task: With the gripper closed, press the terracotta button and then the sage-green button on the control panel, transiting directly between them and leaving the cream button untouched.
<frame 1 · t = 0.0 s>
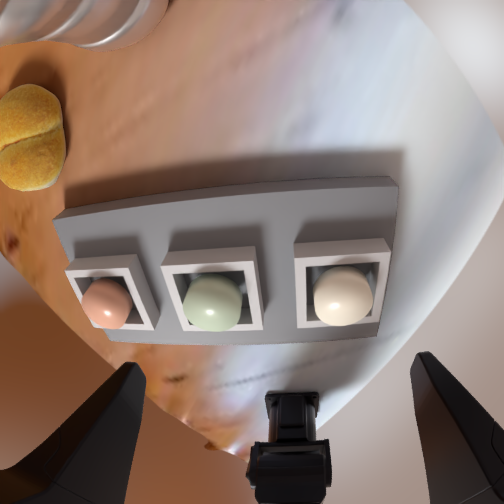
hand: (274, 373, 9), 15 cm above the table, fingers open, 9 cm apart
plastic bottle: (133, 9, 15), on the table
sage button: (213, 303, 22), point 4 cm above the table, slide at 0.0 cm
cream button: (342, 296, 21), point 4 cm above the table, slide at 0.0 cm
terracotta button: (106, 304, 23), point 4 cm above the table, slide at 0.0 cm
bread roll: (37, 135, 20), on the table
panel: (221, 269, 25), on the table
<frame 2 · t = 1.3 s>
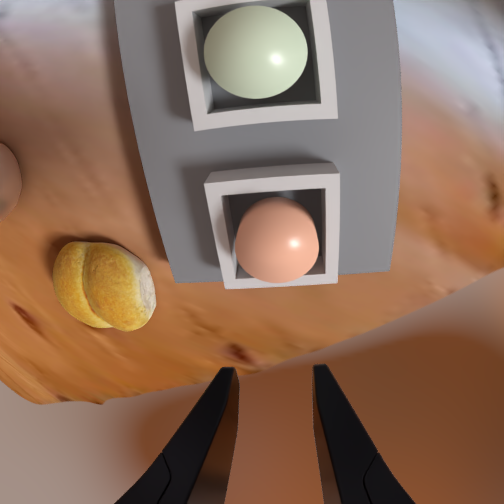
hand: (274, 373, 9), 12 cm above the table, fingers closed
plastic bottle: (6, 170, 19), on the table
sage button: (256, 52, 11), point 4 cm above the table, slide at 0.0 cm
terracotta button: (276, 240, 16), point 4 cm above the table, slide at 0.0 cm
bread roll: (110, 276, 24), on the table
panel: (260, 57, 14), on the table
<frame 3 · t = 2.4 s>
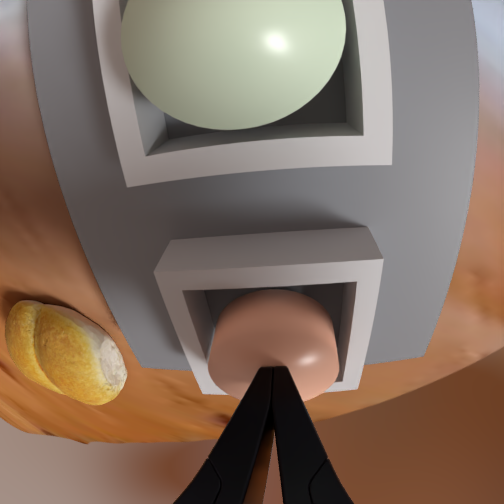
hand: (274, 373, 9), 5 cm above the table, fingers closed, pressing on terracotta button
sage button: (233, 29, 5), point 4 cm above the table, slide at 0.0 cm
terracotta button: (274, 353, 10), point 4 cm above the table, slide at 0.0 cm, touching gripper
bread roll: (72, 338, 18), on the table
panel: (250, 46, 8), on the table
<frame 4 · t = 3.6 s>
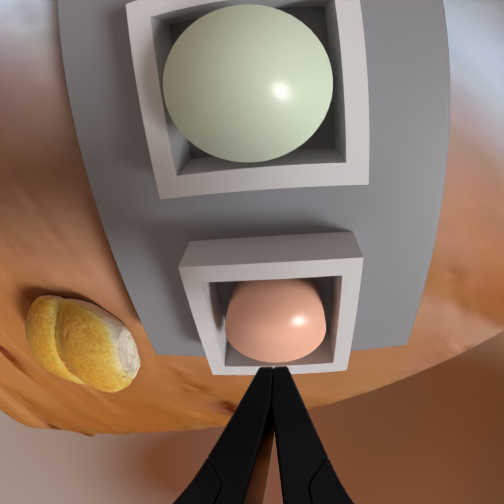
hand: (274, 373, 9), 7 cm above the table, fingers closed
sage button: (248, 81, 7), point 4 cm above the table, slide at 0.0 cm
terracotta button: (275, 317, 13), point 3 cm above the table, slide at -1.0 cm
bread roll: (88, 330, 20), on the table
panel: (257, 79, 11), on the table
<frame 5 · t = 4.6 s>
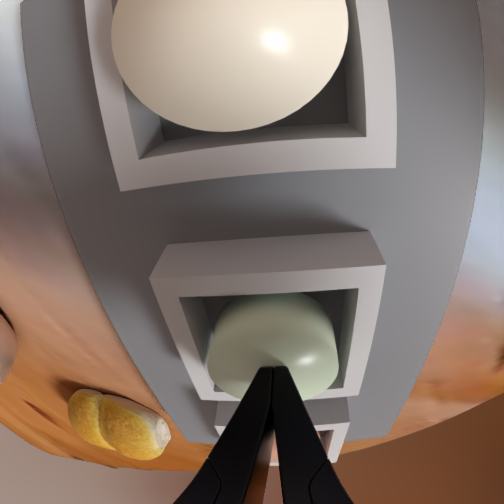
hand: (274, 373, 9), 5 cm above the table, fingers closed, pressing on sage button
sage button: (273, 352, 10), point 4 cm above the table, slide at -0.3 cm, touching gripper
cream button: (230, 26, 5), point 4 cm above the table, slide at 0.0 cm
terracotta button: (284, 439, 15), point 3 cm above the table, slide at -1.0 cm
bread roll: (123, 410, 22), on the table
panel: (275, 280, 13), on the table
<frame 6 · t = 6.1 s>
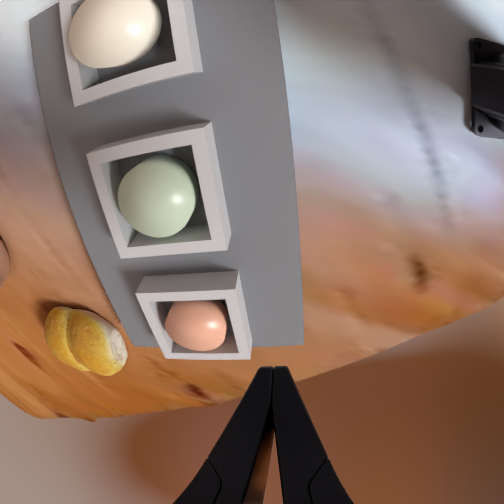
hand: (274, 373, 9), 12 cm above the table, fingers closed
sage button: (158, 195, 15), point 3 cm above the table, slide at -1.0 cm
cream button: (114, 27, 10), point 4 cm above the table, slide at 0.0 cm
terracotta button: (197, 322, 20), point 3 cm above the table, slide at -1.0 cm
bread roll: (90, 331, 28), on the table
panel: (175, 176, 18), on the table
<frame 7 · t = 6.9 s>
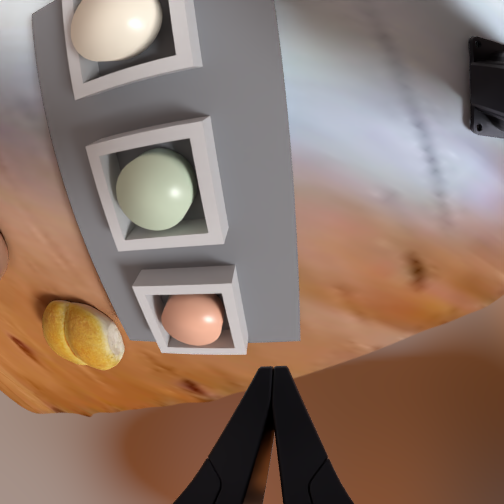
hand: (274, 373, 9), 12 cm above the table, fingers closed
sage button: (156, 189, 15), point 3 cm above the table, slide at -1.0 cm
cream button: (115, 21, 10), point 4 cm above the table, slide at 0.0 cm
terracotta button: (193, 316, 20), point 3 cm above the table, slide at -1.0 cm
bread roll: (88, 325, 28), on the table
panel: (174, 170, 18), on the table
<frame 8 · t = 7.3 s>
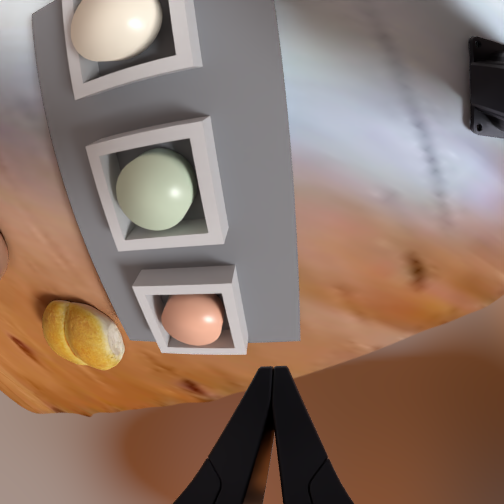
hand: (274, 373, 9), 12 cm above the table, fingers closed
sage button: (156, 189, 15), point 3 cm above the table, slide at -1.0 cm
cream button: (115, 21, 10), point 4 cm above the table, slide at 0.0 cm
terracotta button: (193, 316, 20), point 3 cm above the table, slide at -1.0 cm
bread roll: (88, 325, 28), on the table
panel: (174, 170, 18), on the table
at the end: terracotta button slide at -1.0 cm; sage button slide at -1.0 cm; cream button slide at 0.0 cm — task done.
